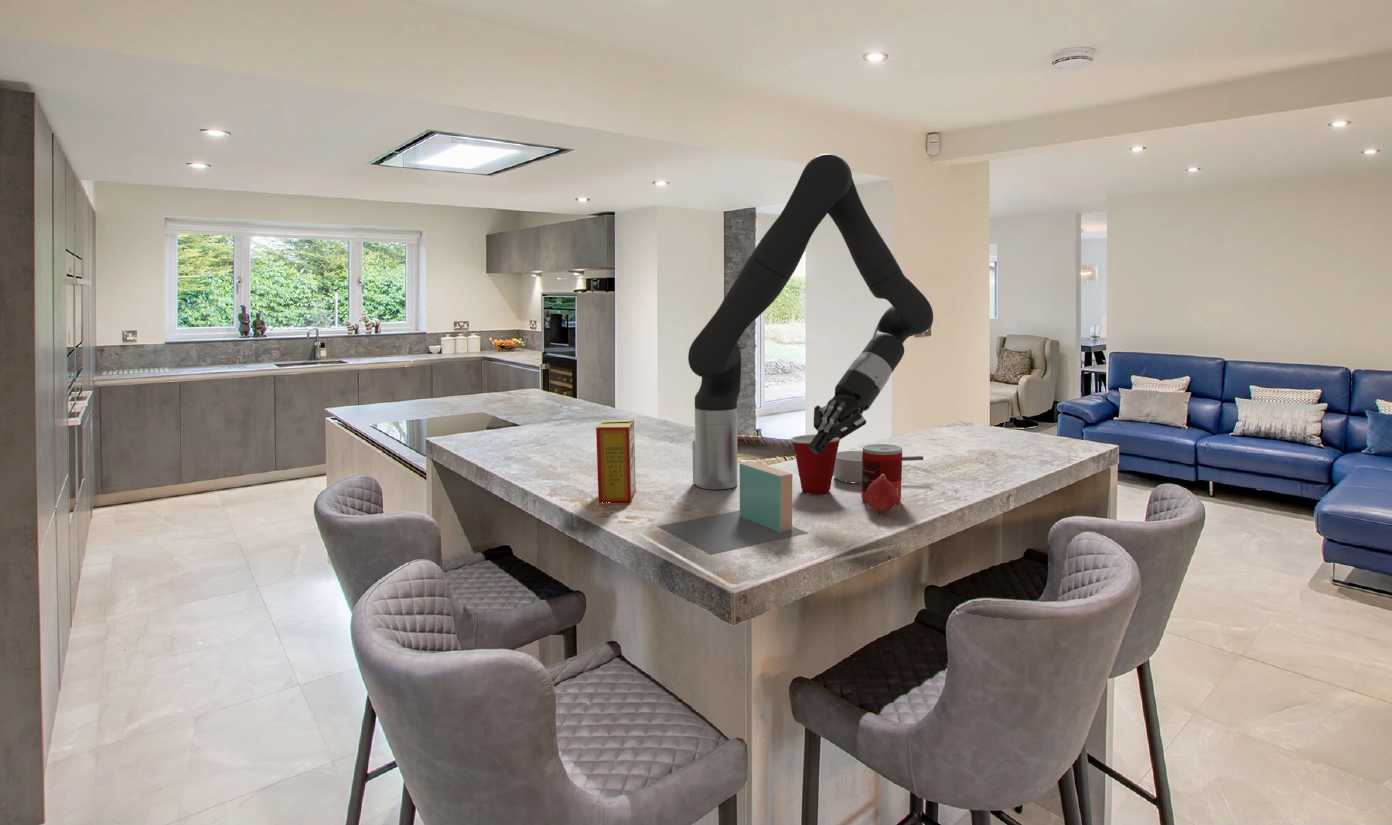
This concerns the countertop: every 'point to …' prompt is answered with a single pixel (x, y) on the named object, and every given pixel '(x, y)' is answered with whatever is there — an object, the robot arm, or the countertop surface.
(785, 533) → the mat
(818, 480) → the plastic cup
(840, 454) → the saucepan
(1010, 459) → the countertop surface
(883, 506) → the onion
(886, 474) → the canned food
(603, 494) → the baking soda box
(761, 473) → the tile
